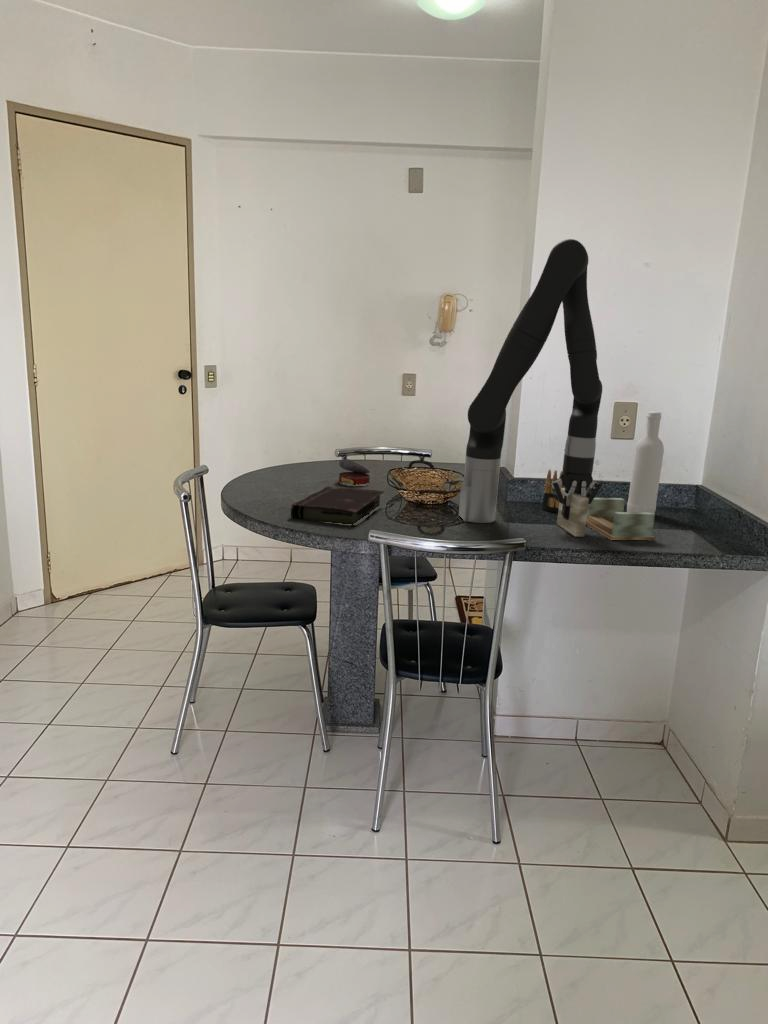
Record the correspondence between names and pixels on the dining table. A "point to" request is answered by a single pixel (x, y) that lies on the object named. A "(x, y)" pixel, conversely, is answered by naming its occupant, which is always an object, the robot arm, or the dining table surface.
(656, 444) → the bottle
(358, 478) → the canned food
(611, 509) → the slat holder
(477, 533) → the dining table surface
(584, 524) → the ash slat
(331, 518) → the diary
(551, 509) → the ammunition clip
